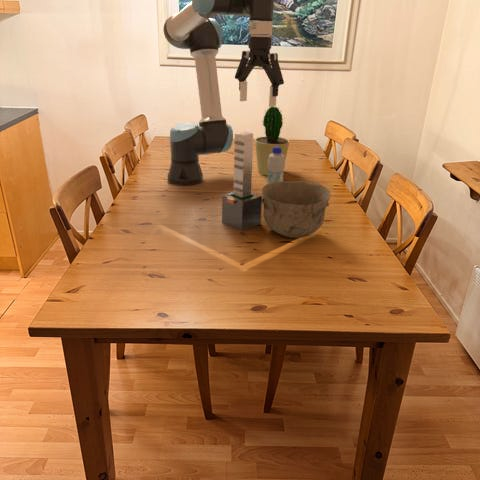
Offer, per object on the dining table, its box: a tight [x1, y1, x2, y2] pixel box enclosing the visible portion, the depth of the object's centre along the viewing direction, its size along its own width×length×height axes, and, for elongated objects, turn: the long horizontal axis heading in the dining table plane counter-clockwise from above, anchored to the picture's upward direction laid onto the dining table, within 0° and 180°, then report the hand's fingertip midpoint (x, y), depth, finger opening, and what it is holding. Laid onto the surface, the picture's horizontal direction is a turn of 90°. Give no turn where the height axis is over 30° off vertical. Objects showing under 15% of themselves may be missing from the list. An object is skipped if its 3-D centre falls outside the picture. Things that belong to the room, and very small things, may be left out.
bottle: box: [266, 147, 286, 185], centre depth 173 cm, size 7×7×20 cm
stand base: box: [221, 191, 263, 232], centre depth 149 cm, size 14×14×11 cm
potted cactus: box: [254, 106, 291, 177], centre depth 200 cm, size 15×15×30 cm
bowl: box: [261, 180, 332, 239], centre depth 143 cm, size 22×22×15 cm
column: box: [233, 131, 254, 200], centre depth 142 cm, size 4×5×22 cm
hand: (257, 103), depth 155 cm, fingers open, 13 cm apart
